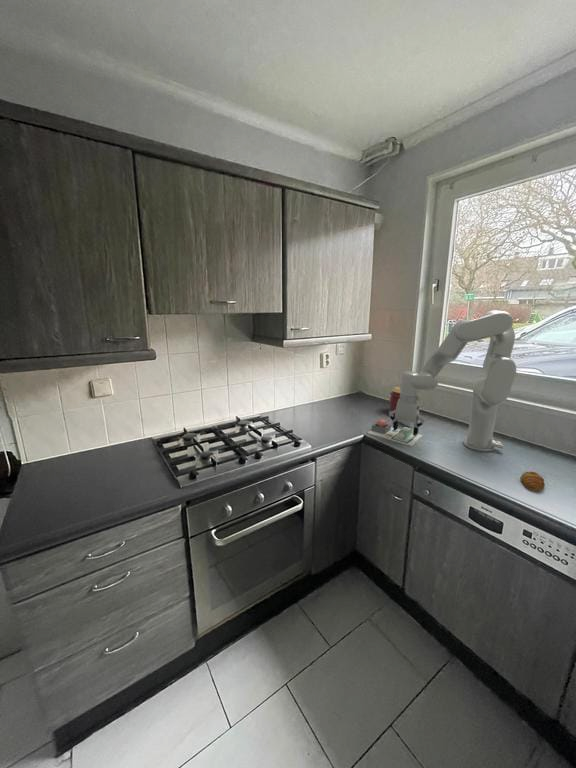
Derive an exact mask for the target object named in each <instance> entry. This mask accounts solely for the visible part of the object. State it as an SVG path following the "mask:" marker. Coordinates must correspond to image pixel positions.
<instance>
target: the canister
mask: <svg viewBox="0 0 576 768" xmlns="http://www.w3.org/2000/svg"><path fill="white" fill-rule="evenodd" d="M400 390H401V384H400V386H395V387H393V388H392V389H391V392H389V394H390V397H389V406H388V413H389V412H390V411H394V410H396V406H397V402H398V399H400ZM393 416H394V417H395V413H394V414H393Z"/></svg>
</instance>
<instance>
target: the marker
mask: <svg viewBox="0 0 576 768" xmlns="http://www.w3.org/2000/svg"><path fill="white" fill-rule="evenodd" d="M412 428H413V427H409V426H404V427H402V428H401V429H400V431H399V434H398V437H399V438H400V439H407V438H408V437H409V436H410V435H411V433H412V430H413V429H412Z"/></svg>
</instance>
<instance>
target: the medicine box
mask: <svg viewBox="0 0 576 768" xmlns="http://www.w3.org/2000/svg"><path fill="white" fill-rule="evenodd" d="M399 422H400V424H403V425H405V426H406V427H408V428H414V427H415V426H414V424H413V423H409V422H405V421H401V420H399Z"/></svg>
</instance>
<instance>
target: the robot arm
mask: <svg viewBox="0 0 576 768" xmlns="http://www.w3.org/2000/svg"><path fill="white" fill-rule="evenodd" d="M513 324H514V318H513V316H512V315H511V314H510V313H509V312H507V311H503V310H495V309H493V310H490V311H487V312H485V313H484V314H483V315H482V317H479V318H475V319H471V320H468V319H463V320H459V321H457V322H456V323H455V324H454V325H453V326H452V328H451V329H450V331H449V332H448V334H447V335H446V336H445V338H444V339H443V341H442V342H441V343H440V345H439V347H438V348H437V349H436V350H435V351H434V353H433V354H432V355H431V356H430V357H429V359H428V360H427V361H426V362H425V364H424V365H423V367H422V368H421V369H420V370H419V373H418V372H415V371H408V370H407V371H403V372H402V373H401V382H400V385H401V390H400V399H398V402H397V406H396V410H394V411H390V412H389V411H388V415H389V418H390V420H391V421H392V428H394V430H396V429H399V421H400V420H401V421H405V422H409V423H413V424H414V426H415V427H413V432H412V433H413V435H414V436H415V435H416V434H418V433H419V428H420V427H421V426H423V424H425V422H426V419H425V418H424V417H423V416H421V415H420V403H419V402H420V401H421V398H420V397H419V396H418V393H419V390H422V391H434V390H435V389H436V388H438V386H439V380H438V378H437V377H438V375H440V372H441V371H442V369H443V368H445V366H447V365H448V364H450V363H452V362H454V361H455V360H456V359H457V358H458V357H459V355H460V354H461V353H462V351H463V350H464V348H465V347H466V346H467V345H468V343H472V342H473V343H474V342H476V341H481V340H485V339H487V338H489V344H488V348H487V351H486V355H485V357H484V360H483V363H482V368H483V371H484V373H486V374H487V375H486V376H485V377H481V378H479V379H477V380H476V381H475V383H474V385H473V389H472V405H471V412H470V418H469V424H468V425H469V426H468V431H467V437H466V438H464V439H463V440H462V444H463V445H464V446H465V447H467V448H468V449H471V450H473V451H479V452H483V453H484V452H485V453H486V452H487V453H489V452H493V451H494V450H496V449H495V448H498V449H504V444H503V443H502V442H501V441H496V440H495V436H494V432H495V431H494V430H495V423H496V420H497V414H498V406H500V405H502V404H503V403H505V402H506V401H507V399H508V397H509V395H510V392H511V390H512V386H513V384H514V381H515V378H516V374H517V365H516V363H515V361H514V360H513V359H511V357H512V353H513V348H514V344H515V341H516V339H515V338H516V336H515V335H516V334H515V330H514V327H513ZM394 413H395V416H394V415H393V414H394ZM419 421H420V422H419ZM493 436H494V437H493Z"/></svg>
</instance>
